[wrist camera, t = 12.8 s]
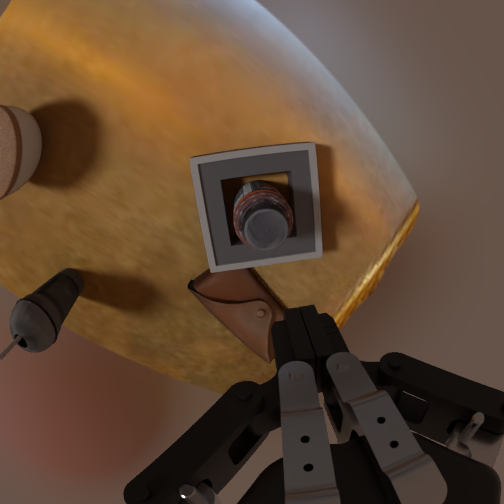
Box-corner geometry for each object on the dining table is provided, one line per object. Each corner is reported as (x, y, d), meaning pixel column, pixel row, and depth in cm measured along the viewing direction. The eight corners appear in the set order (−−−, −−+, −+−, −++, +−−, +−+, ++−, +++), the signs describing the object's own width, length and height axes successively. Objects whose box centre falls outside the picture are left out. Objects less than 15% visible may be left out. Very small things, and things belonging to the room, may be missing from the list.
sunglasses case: (308, 327, 44) (297, 364, 40) (275, 334, 49) (262, 367, 44) (233, 245, 38) (210, 281, 34) (202, 261, 43) (179, 294, 38)
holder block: (193, 156, 33) (189, 158, 30) (307, 141, 34) (314, 142, 30) (212, 261, 39) (210, 272, 36) (315, 246, 39) (322, 256, 36)
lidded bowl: (-8, 138, 29) (-55, 147, 18) (40, 87, 27) (-10, 82, 17) (17, 203, 33) (-28, 226, 23) (69, 158, 32) (19, 171, 22)
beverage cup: (54, 293, 40) (-10, 373, 21) (52, 254, 37) (-27, 328, 19) (90, 306, 41) (33, 397, 22) (91, 266, 38) (19, 355, 20)
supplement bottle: (290, 195, 36) (313, 221, 26) (264, 233, 38) (275, 273, 27) (250, 169, 35) (257, 185, 24) (224, 209, 36) (220, 241, 26)
